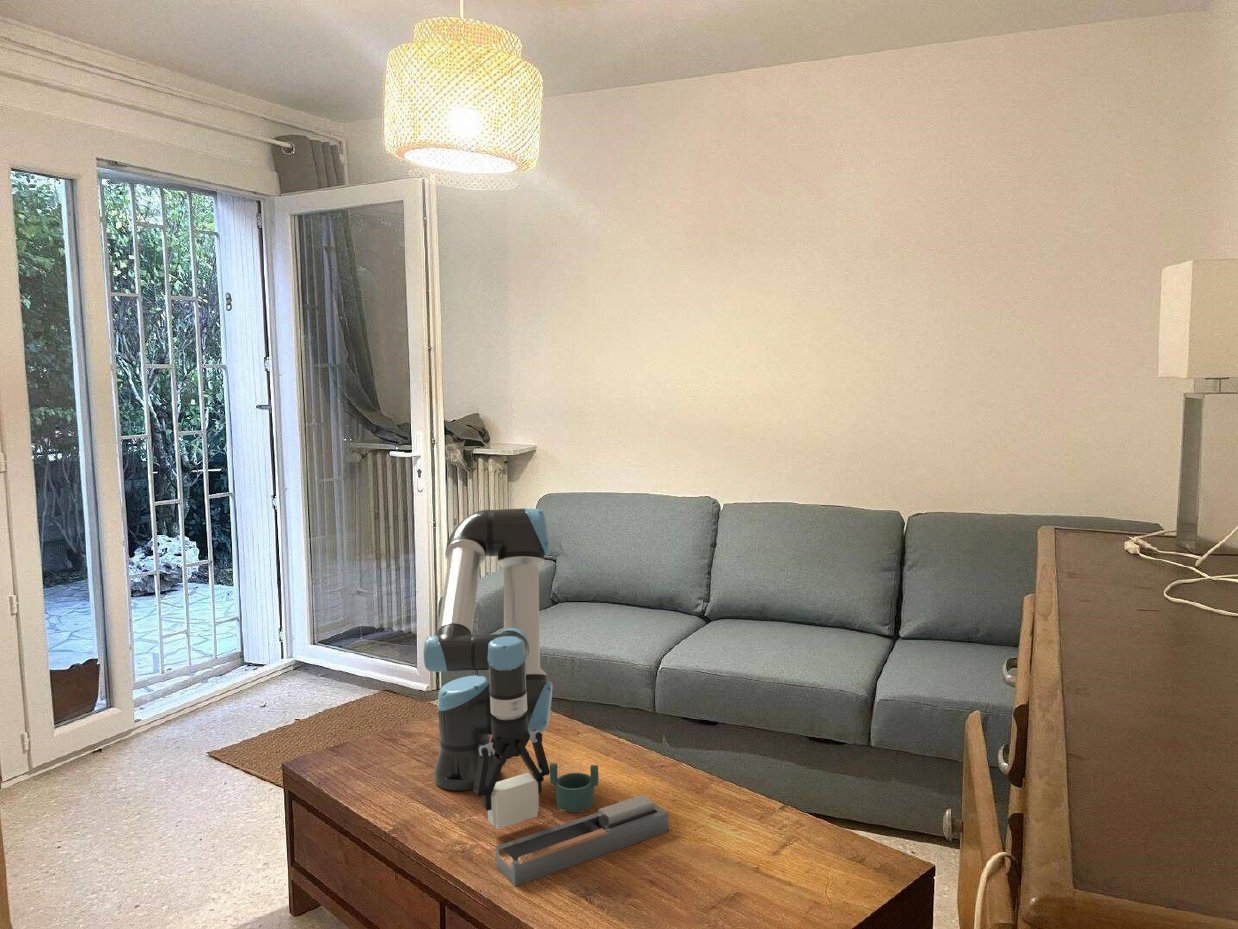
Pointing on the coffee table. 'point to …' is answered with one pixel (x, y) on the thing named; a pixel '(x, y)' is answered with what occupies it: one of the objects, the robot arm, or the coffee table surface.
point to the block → (515, 800)
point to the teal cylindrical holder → (574, 789)
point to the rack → (581, 839)
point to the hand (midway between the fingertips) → (513, 815)
